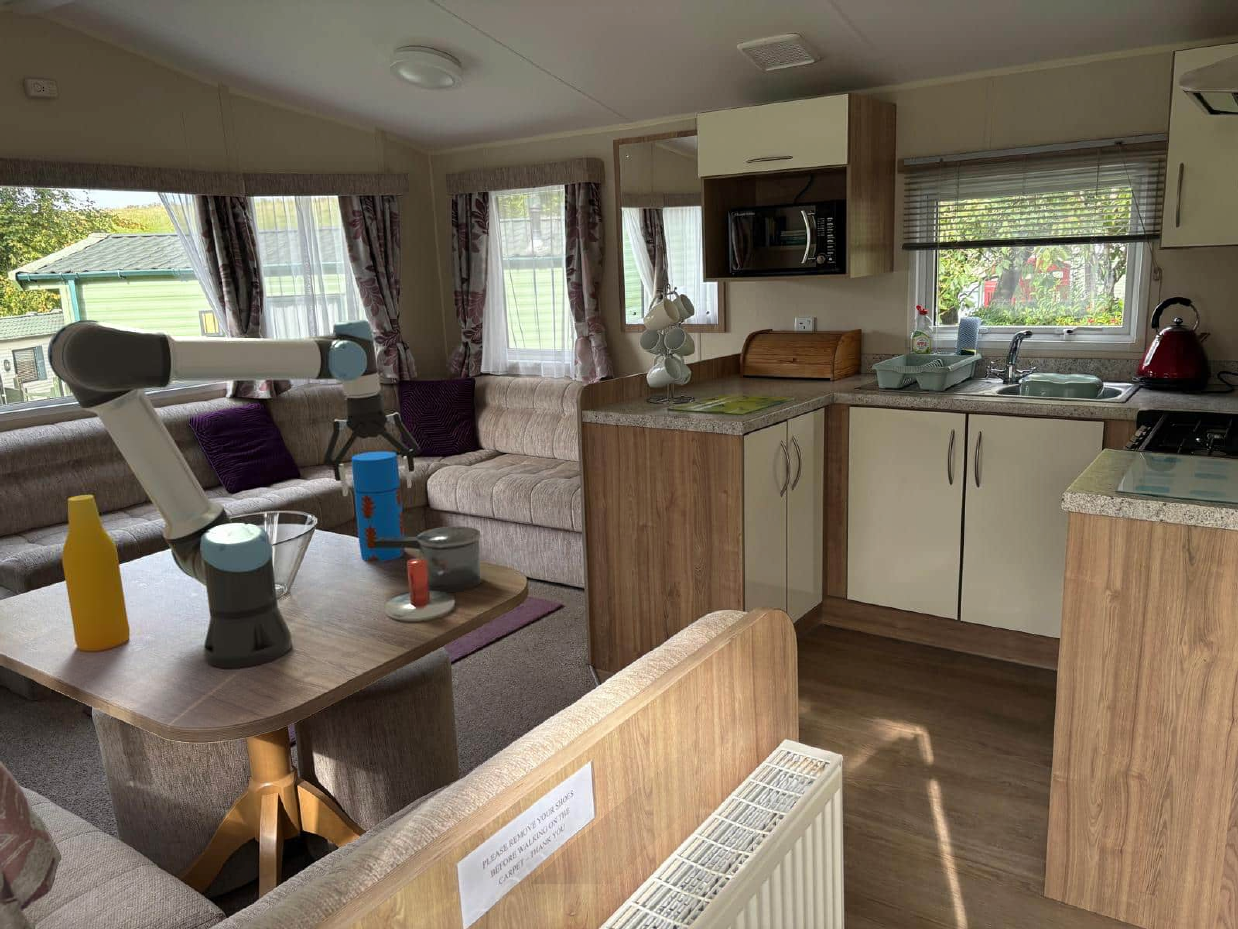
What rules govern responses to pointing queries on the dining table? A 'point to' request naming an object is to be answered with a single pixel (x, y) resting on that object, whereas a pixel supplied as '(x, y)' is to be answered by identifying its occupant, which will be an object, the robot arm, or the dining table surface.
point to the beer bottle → (93, 579)
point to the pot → (445, 556)
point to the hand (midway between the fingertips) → (377, 490)
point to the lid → (419, 597)
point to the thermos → (377, 503)
